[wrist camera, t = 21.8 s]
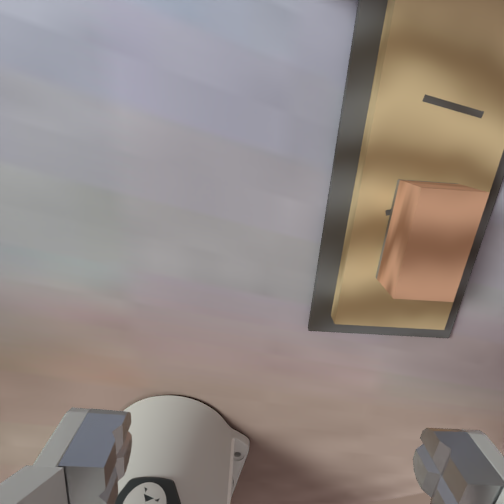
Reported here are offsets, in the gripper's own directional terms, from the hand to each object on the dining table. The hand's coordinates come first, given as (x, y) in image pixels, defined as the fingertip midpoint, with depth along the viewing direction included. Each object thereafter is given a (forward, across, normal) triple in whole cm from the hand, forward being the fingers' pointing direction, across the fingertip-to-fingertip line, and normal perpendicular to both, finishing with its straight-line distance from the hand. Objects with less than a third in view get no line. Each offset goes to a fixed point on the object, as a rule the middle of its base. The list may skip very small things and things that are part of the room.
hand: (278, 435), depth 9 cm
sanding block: (+20, +14, +1) cm, 25 cm away
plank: (+23, +14, +6) cm, 27 cm away
